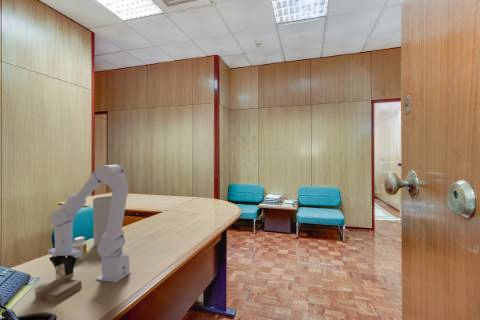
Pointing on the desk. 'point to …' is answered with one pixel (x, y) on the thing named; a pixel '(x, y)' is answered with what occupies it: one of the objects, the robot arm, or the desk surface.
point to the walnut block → (58, 290)
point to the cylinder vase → (100, 217)
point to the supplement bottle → (80, 247)
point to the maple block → (62, 272)
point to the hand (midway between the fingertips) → (64, 273)
